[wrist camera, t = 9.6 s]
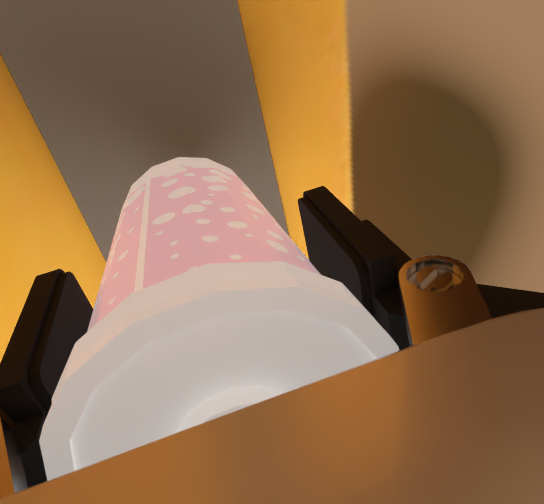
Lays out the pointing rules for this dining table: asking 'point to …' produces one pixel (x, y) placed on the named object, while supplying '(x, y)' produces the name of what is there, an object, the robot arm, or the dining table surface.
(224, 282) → the beverage cup
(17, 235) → the dining table surface
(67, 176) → the plain gray mat
